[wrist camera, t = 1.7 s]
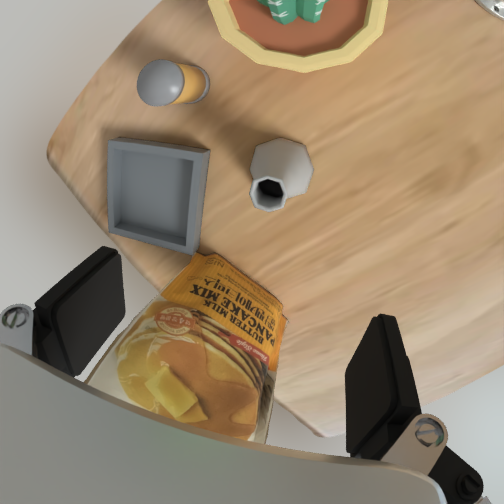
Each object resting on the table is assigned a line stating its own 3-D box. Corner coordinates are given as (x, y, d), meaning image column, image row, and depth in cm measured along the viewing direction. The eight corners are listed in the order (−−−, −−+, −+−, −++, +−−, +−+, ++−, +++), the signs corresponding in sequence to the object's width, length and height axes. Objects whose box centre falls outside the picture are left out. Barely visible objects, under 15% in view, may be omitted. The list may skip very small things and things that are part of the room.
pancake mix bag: (276, 340, 46) (231, 518, 21) (173, 265, 43) (53, 424, 19) (306, 317, 42) (275, 516, 18) (196, 232, 40) (59, 406, 15)
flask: (313, 137, 31) (312, 150, 23) (314, 199, 35) (311, 235, 26) (248, 138, 33) (221, 152, 24) (252, 198, 36) (229, 233, 27)
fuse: (176, 65, 30) (140, 59, 23) (212, 67, 29) (183, 60, 23) (170, 101, 32) (134, 104, 25) (206, 105, 32) (176, 108, 25)
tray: (118, 137, 35) (108, 140, 33) (210, 150, 34) (203, 153, 32) (117, 225, 42) (108, 232, 40) (199, 246, 41) (192, 255, 38)
